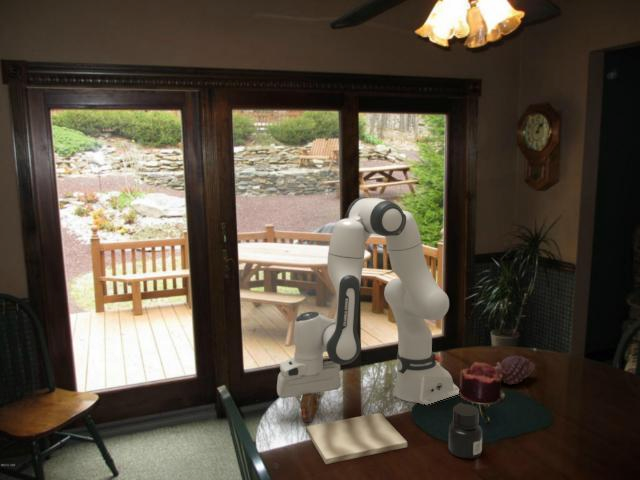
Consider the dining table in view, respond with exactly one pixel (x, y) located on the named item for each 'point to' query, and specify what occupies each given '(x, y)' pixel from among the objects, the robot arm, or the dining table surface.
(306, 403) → the tin
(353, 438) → the birch board
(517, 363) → the pine cone
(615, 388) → the dining table surface
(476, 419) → the ink bottle
